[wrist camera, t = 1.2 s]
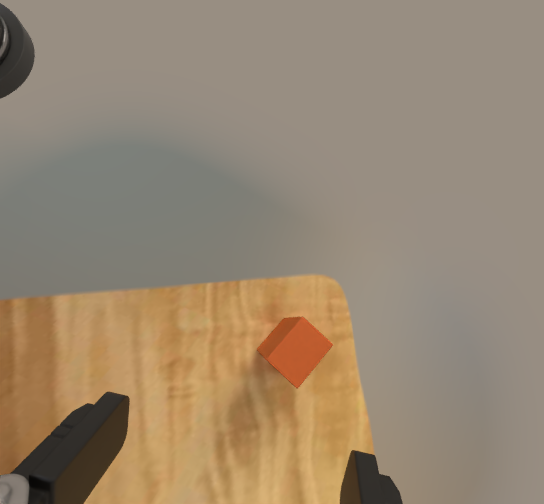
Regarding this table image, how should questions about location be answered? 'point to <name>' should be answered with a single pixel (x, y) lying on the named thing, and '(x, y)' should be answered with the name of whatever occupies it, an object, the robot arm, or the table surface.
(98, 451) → the robot arm
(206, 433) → the table surface
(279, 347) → the orange block
